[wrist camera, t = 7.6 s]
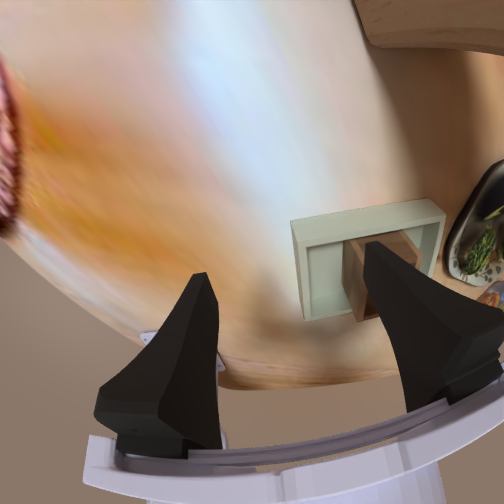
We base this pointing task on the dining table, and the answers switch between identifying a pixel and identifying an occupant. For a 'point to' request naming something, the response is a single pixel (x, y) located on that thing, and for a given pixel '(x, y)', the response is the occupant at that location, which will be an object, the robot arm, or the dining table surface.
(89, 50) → the dining table surface
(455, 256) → the salad plate
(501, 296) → the tin
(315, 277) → the sage crate
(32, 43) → the dining table surface
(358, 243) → the walnut crate
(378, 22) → the wooden block
